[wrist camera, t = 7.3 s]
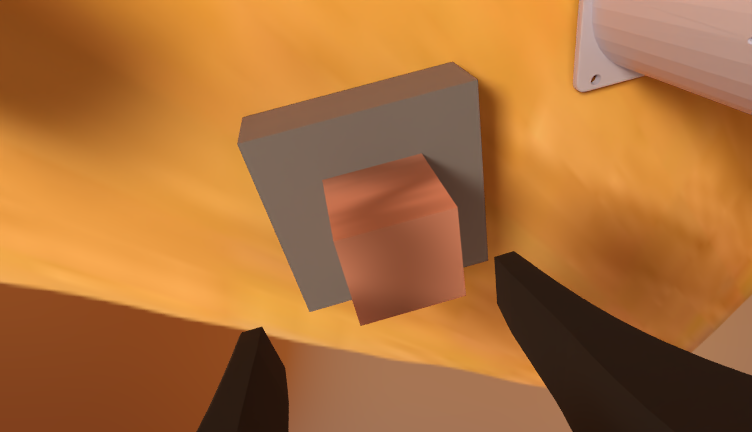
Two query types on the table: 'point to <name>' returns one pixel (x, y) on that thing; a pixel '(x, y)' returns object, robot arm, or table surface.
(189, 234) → the table surface
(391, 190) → the cube
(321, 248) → the base block
